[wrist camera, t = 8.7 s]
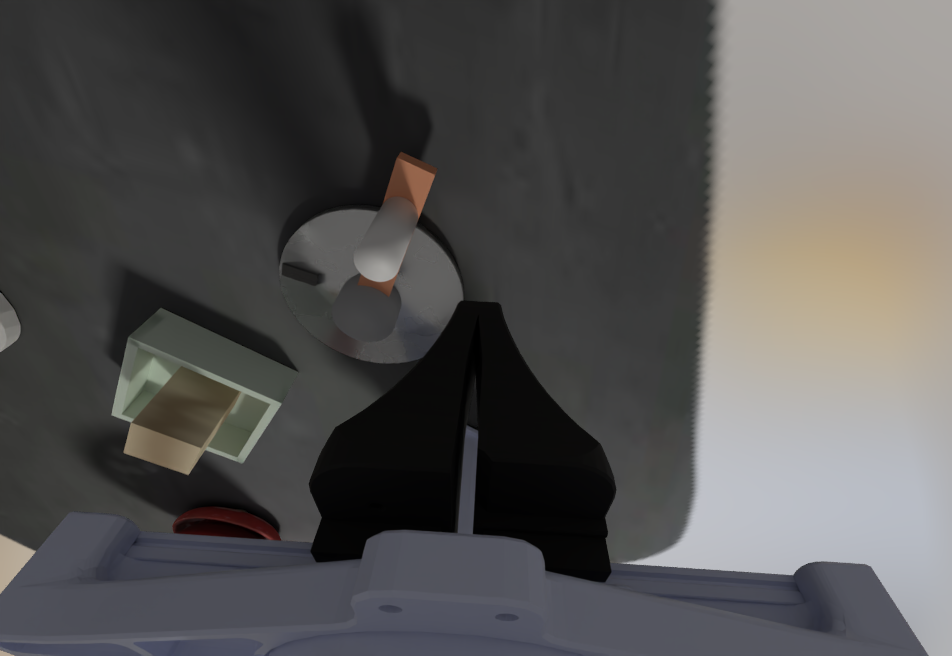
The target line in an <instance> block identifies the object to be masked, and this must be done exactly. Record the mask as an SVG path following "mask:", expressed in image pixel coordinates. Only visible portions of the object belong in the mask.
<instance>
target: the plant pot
mask: <svg viewBox="0 0 952 656" xmlns="http://www.w3.org/2000/svg"><path fill="white" fill-rule="evenodd" d="M173 531H174V533H176V534H191V535H205V536H220V537H235V538H250V539H264V540H279V541H281V539H280V536H279V534H278V532H277V531H276V530H275V529H274V528H273V527H272V526H271V525H270V524H269V523H268V522H266V521H265V520H263V519H261V518H259V517H257V516H255V515H252V514H250V513H247V511H246V510H244V509H238V510H236V509H232V508H225V507H200V508H196V509H192V510H190V511H187V512H185V513H184V514H182V515H181V516H179V517H178V518H177V519H176V520H175V522H174V523H173Z"/></svg>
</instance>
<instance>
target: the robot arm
mask: <svg viewBox="0 0 952 656" xmlns="http://www.w3.org/2000/svg"><path fill="white" fill-rule="evenodd" d="M475 376H476V390H477V415H478V431H477V430H475V429H473V428H471V427H469V426H467V422H468V416H469V410H470V405H471V399H472V393H473V388H474V382H475ZM309 487H310V492H311V494H312V496H313V499H314V501H315V503H316V505H317V508H318V510H319V512H320V514H321V517H322V519H321V522H320V525H319V527H318V530H317V533H316V536H315V539H314V542H313V543H309V542H294V541H279V540H264V539H250V538H235V537H220V536H205V535H191V534H176V533H161V532H147V531H140V529H139V528H138V526H137V525H136V524H135V523H134V522H133V521H132V520H130V519H128V518H126V517H124V516H121V515H116V514H107V513H92V512H78V511H74V512H70V513H69V514H68V515H67V516H66V517H65V518H64V519H63V521H62V522H61V523H60V524H59V525H58V527H57V528H56V529H55V530H54V531H53V532H52V534H51V535H50V536H49V537H48V538H47V540H46V541H45V542H44V543H43V544H42V545H41V547H40V548H39V549H38V550H37V551H36V553H35V554H34V555H33V556H32V558H31V559H30V560H29V561H28V562H27V563H26V564H25V566H24V567H23V568H22V569H21V570H20V572H19V573H18V574H17V575H16V576H15V577H14V579H13V580H12V581H11V582H10V583H9V585H8V586H7V587H6V588H5V589H4V591H2V593H1V594H0V650H2V651H4V652H7V653H10V654H13V655H15V656H928V654H927V653H926V651H925V650H924V648H923V646H922V645H921V643H920V642H919V640H918V639H917V637H916V636H915V634H914V633H913V631H912V630H911V628H910V626H909V625H908V623H907V622H906V620H905V619H904V617H903V616H902V614H901V613H900V611H899V610H898V608H897V606H896V605H895V603H894V602H893V600H892V599H891V597H890V596H889V594H888V592H887V591H886V589H885V588H884V586H883V585H882V583H881V582H880V580H879V579H878V577H877V576H876V574H875V573H874V571H873V569H872V568H871V567H870V566H868V565H865V564H852V563H838V562H813V563H808V564H806V565H804V566H802V567H800V568H799V569H798V570H797V571H796V572H795V574H794V575H778V574H765V573H751V572H750V573H749V572H736V571H721V570H706V569H692V568H677V567H662V566H648V565H647V566H646V565H633V564H618V563H610V560H609V555H608V550H607V544H606V539H605V538H606V537H607V535H608V530H607V525H606V520H605V516H606V514H607V512H608V510H609V508H610V506H611V504H612V502H613V500H614V498H615V494H616V486H615V480H614V476H613V473H612V470H611V468H610V465H609V462H608V460H607V457H606V455H605V453H604V450H603V448H602V446H601V444H600V443H599V442H598V441H597V440H595V439H594V438H593V437H592V436H591V435H589V434H588V433H587V432H586V431H585V430H583V429H582V428H581V427H580V426H579V425H577V424H576V423H575V422H574V421H573V420H572V419H571V418H570V417H569V416H568V415H567V414H566V413H565V412H564V411H563V410H562V409H561V407H560V406H559V405H558V404H557V403H556V402H555V401H554V400H553V399H552V398H551V396H550V395H549V394H548V393H547V392H546V390H545V389H544V388H543V387H542V385H541V384H540V383H539V381H538V380H537V379H536V377H535V376H534V374H533V373H532V372H531V370H530V369H529V367H528V365H527V364H526V362H525V360H524V359H523V357H522V355H521V354H520V352H519V350H518V348H517V346H516V344H515V342H514V340H513V338H512V336H511V334H510V332H509V329H508V327H507V324H506V322H505V319H504V316H503V312H502V308H501V305H500V304H499V303H496V302H478V301H460V302H459V303H458V304H457V307H456V309H455V311H454V313H453V315H452V317H451V319H450V320H449V322H448V324H447V325H446V327H445V328H444V330H443V331H442V333H441V334H440V336H439V337H438V339H437V340H436V342H435V343H434V344H433V345H432V347H431V348H430V349H429V350H428V352H427V353H426V354H425V356H424V357H423V358H422V359H421V360H420V361H419V362H418V364H417V365H416V366H415V367H414V368H413V369H412V370H411V371H410V372H409V373H408V374H407V375H406V376H405V377H404V378H403V379H402V380H401V381H399V382H398V383H397V384H396V385H395V386H394V387H393V388H392V389H391V390H389V391H388V392H387V393H386V394H384V395H383V396H382V397H380V398H379V399H378V400H376V401H375V402H374V403H372V404H371V405H370V406H369V407H367V408H366V409H364V410H363V411H361V412H360V413H358V414H357V415H355V416H353V417H352V418H350V419H349V420H347V421H345V422H344V423H342V424H340V425H339V426H337V427H335V429H334V430H333V432H332V434H331V435H330V437H329V439H328V440H327V442H326V444H325V446H324V448H323V449H322V451H321V453H320V455H319V458H318V460H317V463H316V466H315V468H314V471H313V473H312V476H311V479H310V482H309Z"/></svg>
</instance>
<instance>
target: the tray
mask: <svg viewBox="0 0 952 656" xmlns="http://www.w3.org/2000/svg"><path fill="white" fill-rule="evenodd" d="M181 366H183V367H185V368H187V369H190V370H192V371H194V372H197V373H199V374H201V375H203V376H206V377H208V378H210V379H213V380H215V381H217V382H220V383H222V384H224V385H227V386H229V387H231V388H234V389H236V390H238V391H241V394H240V396H239V398H238V400H237V402H236V404H235V406H234V407H233V409H232V410H231V412H230V413H229V415H228V416H227V418H226V419H225V421H224V422H223V424H222V425H221V427H220V428H219V430H218V431H217V433H216V434H215V436H214V437H213V439H212V440H211V442H210V443H209V445H208V446H207V448H206V449H205V450H207V451H210V452H213V453H215V454H218V455H221V456H224V457H226V458H229V459H232V460H234V461H237V462H240V463H243V462H244V461H245V459H246V458H247V456H248V455H249V453H250V451H251V450H252V448H253V447H254V445H255V444H256V442H257V441H258V439H259V438H260V436H261V435H262V433H263V432H264V430H265V428H266V427H267V425H268V424H269V422H270V421H271V419H272V418H273V416H274V415H275V413H276V412H277V410H278V409H279V407H280V405H281V404H282V402H283V400H284V399H285V397H286V395H287V393H288V391H289V389H290V388H291V386H292V384H293V382H294V380H295V379H296V377H297V375H298V373H299V372H297V371H295V370H293V369H291V368H289V367H286V366H284V365H282V364H280V363H278V362H276V361H274V360H272V359H269V358H267V357H265V356H263V355H261V354H259V353H257V352H254V351H252V350H250V349H248V348H246V347H244V346H242V345H239V344H237V343H235V342H233V341H231V340H229V339H227V338H224V337H222V336H220V335H218V334H216V333H214V332H212V331H210V330H207V329H205V328H203V327H201V326H199V325H197V324H195V323H192V322H190V321H188V320H186V319H184V318H182V317H180V316H177V315H175V314H173V313H171V312H169V311H167V310H165V309H162V308H160V309H159V310H158V311H157V312H156V313H154V314H153V315H152V316H151V317H150V318H149V319H148V320H147V321H146V322H144V323H143V324H142V325H141V326H140V327H139V328H138V329H137V330H135V331H134V332H133V333H132V334H131V335H130V336H129V337H128V341H127V345H126V350H125V355H124V359H123V364H122V368H121V373H120V378H119V382H118V387H117V391H116V396H115V401H114V405H113V410H112V415H113V416H115V417H118V418H121V419H123V420H126V421H129V422H132V421H133V420H134V419H135V418H136V417H137V415H138V414H139V413H140V412H141V411H142V410H143V409H144V408H145V406H146V405H147V404H148V403H149V402H150V401H151V400H152V398H153V397H154V396H155V395H156V394H157V393H158V392H159V391H160V389H161V388H162V387H163V386H164V385H165V384H166V383H167V382H168V380H169V379H170V378H171V377H172V376H173V375H174V374H175V372H176V371H177V370H178V369H179V368H180V367H181Z"/></svg>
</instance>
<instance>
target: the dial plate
mask: <svg viewBox="0 0 952 656" xmlns="http://www.w3.org/2000/svg"><path fill="white" fill-rule="evenodd" d="M380 208H381V207H377V206H372V205H344V206H339V207H334V208H331V209H328V210H325V211H322V212H320V213H318V214H317V215H315V216H313V217H311V218H310V219H309V220H307V221H306V222H305V223H304V224H302V226H301V227H300V228H299V229H298V230H297V231H296V232H295V233H294V235H293V236H292V237H291V238H290V239H289V241H288V243H287V244H286V246H285V248H284V251H283V253H282V256H281V261H280V267H279V278H280V284H281V289H282V292H283V295H284V298H285V300H286V302H287V304H288V306H289V308H290V310H291V311H292V313H293V314H294V316H295V317H296V318H297V320H298V321H299V322H300V323H301V325H302V326H303V327H304V328H305V329H306V330H307V331H308V332H309V333H311V334H312V335H313V336H314V337H315V338H317V339H318V340H319V341H321V342H322V343H324V344H325V345H327V346H329V347H330V348H332V349H334V350H336V351H338V352H340V353H342V354H345V355H347V356H350V357H353V358H356V359H360V360H364V361H368V362H375V363H387V364H388V363H403V362H409V361H413V360H417V359H420V358H423V357H424V356H425V354H426V353H427V352H428V350H429V349H430V348H431V347H432V345H433V344H434V343H435V342H436V340H437V339H438V337H439V336H440V334H441V333H442V331H443V330H444V328H445V327H446V325H447V324H448V322H449V320H450V319H451V317H452V315H453V313H454V311H455V309H456V307H457V304H458V303H459V302H460V301H464V287H463V280H462V277H461V273H460V270H459V268H458V266H457V264H456V261H455V260H454V258H453V256H452V255H451V253H450V252H449V250H448V249H447V248H446V246H445V245H444V244H443V243H442V242H441V241H440V240H439V239H438V238H437V237H436V236H435V235H434V234H433V233H432V232H431V231H430V230H428V229H427V228H426V227H424V226H423V225H422V224H420V223H418V222H417V224H416V227H415V230H414V232H413V235H412V238H411V240H410V243H409V246H408V248H407V251H406V254H405V256H404V259H403V261H402V264H401V267H400V269H399V272H398V275H397V277H396V280H395V283H394V285H393V286H394V287H395V288H396V289H397V291H398V293H399V295H400V297H401V309H400V312H399V315H398V318H397V321H396V324H395V327H394V330H393V332H392V333H391V334H390V335H389V336H388V337H387V338H385V339H383V340H380V341H376V342H364V341H359V340H356V339H354V338H351V337H349V336H348V335H346V334H345V333H343V332H342V331H341V330H340V329H339V328H338V327H337V325H336V324H335V322H334V320H333V317H332V306H333V303H334V301H335V300H336V298H337V296H338V294H339V292H340V291H341V289H342V287H343V285H344V284H345V282H346V281H347V280H348V279H350V278H351V277H353V276H356V275H359V274H361V273H360V272H359V271H358V270H357V268H356V266H355V264H354V253H355V250H356V249H357V247H358V245H359V244H360V242H361V240H362V239H363V237H364V235H365V234H366V232H367V230H368V229H369V227H370V225H371V223H372V222H373V220H374V218H375V217H376V215H377V213H378V212H379V210H380Z"/></svg>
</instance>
